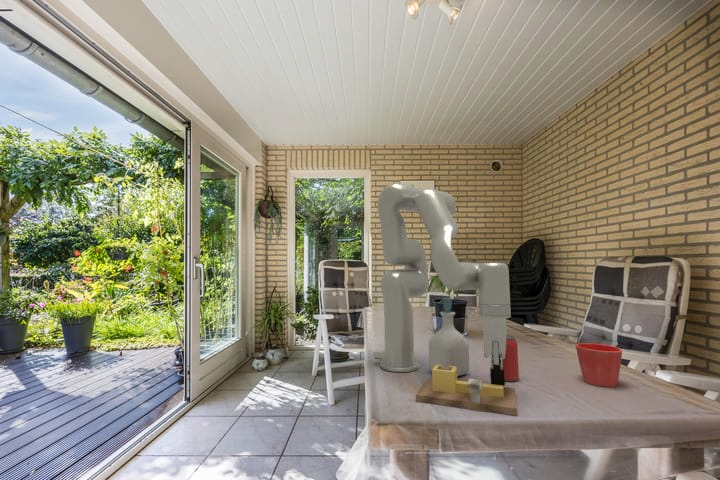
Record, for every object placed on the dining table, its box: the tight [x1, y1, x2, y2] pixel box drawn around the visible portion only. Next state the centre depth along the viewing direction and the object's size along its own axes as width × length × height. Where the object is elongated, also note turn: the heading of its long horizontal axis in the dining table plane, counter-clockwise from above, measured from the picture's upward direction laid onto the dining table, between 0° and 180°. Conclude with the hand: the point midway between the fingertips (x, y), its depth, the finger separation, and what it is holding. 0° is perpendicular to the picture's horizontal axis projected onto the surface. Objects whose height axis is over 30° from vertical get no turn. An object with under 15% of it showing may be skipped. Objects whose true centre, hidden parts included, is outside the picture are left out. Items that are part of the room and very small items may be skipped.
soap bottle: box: [428, 297, 470, 377], centre depth 105 cm, size 10×10×23 cm
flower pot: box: [575, 342, 623, 388], centre depth 95 cm, size 11×11×10 cm
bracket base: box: [415, 365, 518, 417], centre depth 84 cm, size 22×14×7 cm, turn 67°
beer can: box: [503, 334, 520, 383], centre depth 99 cm, size 7×7×12 cm
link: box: [431, 365, 504, 398], centre depth 84 cm, size 16×5×5 cm, turn 67°
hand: (497, 384), depth 86 cm, fingers closed
